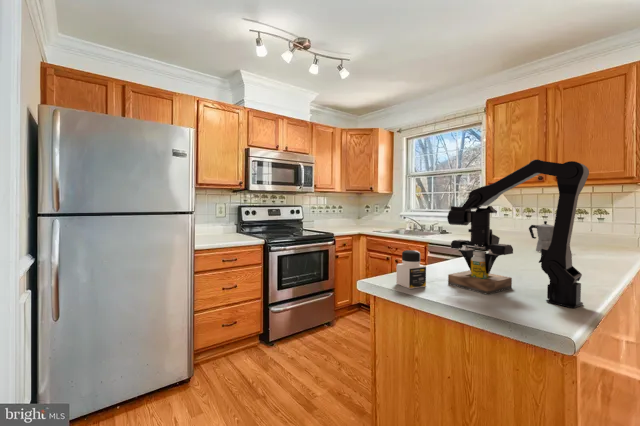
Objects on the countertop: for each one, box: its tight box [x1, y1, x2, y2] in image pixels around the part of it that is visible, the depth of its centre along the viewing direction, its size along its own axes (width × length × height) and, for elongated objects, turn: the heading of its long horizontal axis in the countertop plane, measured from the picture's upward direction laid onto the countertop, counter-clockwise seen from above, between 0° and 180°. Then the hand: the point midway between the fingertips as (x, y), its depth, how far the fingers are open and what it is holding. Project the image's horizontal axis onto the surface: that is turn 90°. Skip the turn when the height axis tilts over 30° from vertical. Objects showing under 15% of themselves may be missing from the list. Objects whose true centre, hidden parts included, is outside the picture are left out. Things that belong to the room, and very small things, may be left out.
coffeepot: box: [528, 220, 554, 253], centre depth 181 cm, size 15×9×18 cm, turn 79°
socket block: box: [447, 269, 513, 295], centre depth 103 cm, size 14×14×4 cm
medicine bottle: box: [396, 249, 427, 290], centre depth 104 cm, size 7×7×12 cm
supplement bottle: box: [471, 250, 489, 279], centre depth 103 cm, size 5×5×10 cm
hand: (479, 271), depth 103 cm, fingers closed on supplement bottle, 5 cm apart
